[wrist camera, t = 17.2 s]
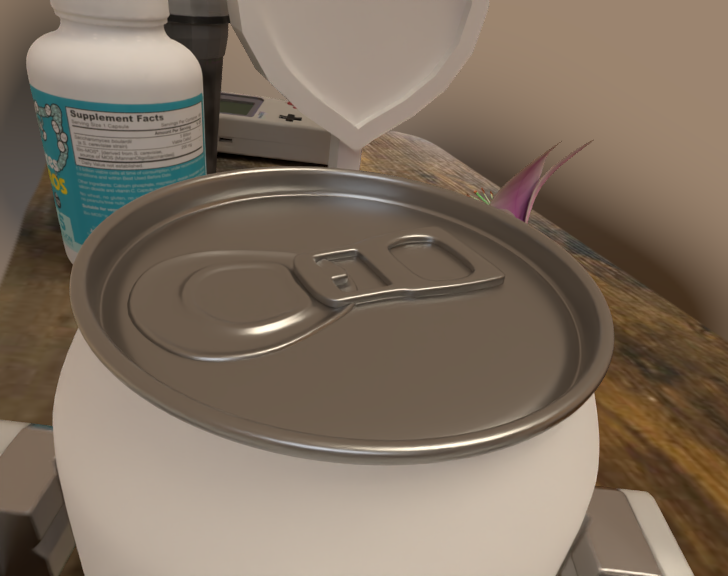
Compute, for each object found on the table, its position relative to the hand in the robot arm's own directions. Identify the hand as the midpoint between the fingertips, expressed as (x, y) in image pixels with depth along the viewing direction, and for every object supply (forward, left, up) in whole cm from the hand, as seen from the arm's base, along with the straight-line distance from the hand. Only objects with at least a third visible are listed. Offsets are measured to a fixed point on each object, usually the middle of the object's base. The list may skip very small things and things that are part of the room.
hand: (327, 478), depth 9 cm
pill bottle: (+21, -7, -8) cm, 24 cm away
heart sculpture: (+20, -21, -8) cm, 30 cm away
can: (-1, +1, -7) cm, 7 cm away
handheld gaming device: (+34, -26, -8) cm, 43 cm away
